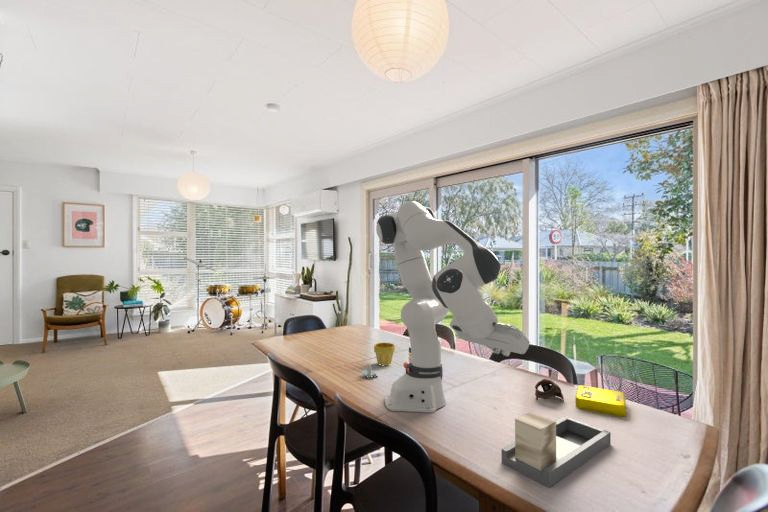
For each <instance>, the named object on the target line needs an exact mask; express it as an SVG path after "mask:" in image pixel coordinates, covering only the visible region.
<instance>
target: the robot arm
mask: <svg viewBox="0 0 768 512" xmlns="http://www.w3.org/2000/svg"><path fill="white" fill-rule="evenodd" d="M375 229H376V234H377V235H376V236H377V237H378V239H379V240H380V242H381V243H383V244H385V245H393V254H394V258H395V263H396V266H397V269H398V274H399V277H400V280H401V281H400V282H401V284H402V286H403V287H404V289H406V290H407V292H408V293H409V294H410V296H411V298H412V299H410V300H409V301H408V302H406V303H405V304H404V305H403V306H402V308H401V310H400V319H401V322H402V323H403V326H405V327H406V329H407V333H408V337H409V340H410V362H409V363H408V362H407V361H405V362H403V364H402V365H403V367H404V369H405V373H404V374H403V375H401V376H400V377H399V378H398V379H396V380H395V381H394V382H392V385H391V388H390V392H389V393H387V394H386V395H385V396H384V405H385V407H386V408H387V410H390V411H392V412H410V413H411V412H413V413H434V412H436V411H437V410H438V409H441V408H442V407H444V406H445V405H446V398H445V395H444V389H443V381H442V380H443V371H444V370H443V364H442V344H441V341H440V340H439V337H438V334H437V331H436V324H438V323H440V322H442V321H443V320H444V319H445V317H446V316H447V315H448V312H450V313H451V314H452V315H453V317H452V319H451V320H450V323H449V327H450V328H451V329H452V330H453V331H454V332H455V333H456V335H457V336H458V337H459V338H460V339H462V340H464V341H466V342H468V343H472V344H473V343H474V344H478V345H481V346H484V347H486V348H488V349H489V350H491V352H492V353H494V354H497V355H499V354H502V356H505V357H509V356H510V354H511V353H516V354H520V355H524V354H526V352H527V351H528V349H529V348H530V347H529V346H530V344H531V342H530V340H529V339H528V338H527V336H526V335H525V334H524V333H523V332H522V331H521V330H520V328H519V327H516V326H515V325H513V324H509V323H503V322H499V319H498V316H497V314H496V313H495V311H494V310H493V308H492V307H491V305H490V304H489V303H488V302H487V301H486V300H485V299H484V298H483V295H482V292H481V291H480V290H479V289H481V288H482V287H484V286H485V285H488V284H490V283H492V282H493V281H495V280H497V279H498V277H499V275H500V271H501V266H502V265H501V263H500V261H499V259H498V257H497V256H496V255H495V253H494V252H492V251H491V250H490V249H488V248H487V247H485V246H484V245H482V244H480V243H479V242H478V241H477V240H475V239H474V238H473V237H471V236H470V235H469V234H468V233H467V232H465V231H464V230H463V229H462V228H460V227H459V226H458V225H456V224H455V223H453V222H452V221H450V220H448V219H436V216H435V213H434V211H433V210H432V209H431V207H429V206H423V205H422V204H421V203H419V202H418V201H415V200H414V201H413V200H409V201H406V202H404V203H403V204H402V205H400V206H399V208H398V210H397V211H396V212H393V213H390V214H384V215H383V216H381V217H379V218H378V220H377V221H376V227H375ZM452 244H453V245H456V246H458V248H460V250H461V251H463V252H464V254H463V255H461V256H460V257H458V258H457V259H455V260H454V261H453V262H451V263H450V264H448V265H446V266H444V267H443V268H442V269H441V270H439V271H437V272H436V273H435V274H433V277H432V275H431V273H430V272H431V271H430V270H429V266H428V263H427V260H426V256H425V254H424V251H431V250H434V249H436V248H440V247H442V246H447V245H452Z"/></svg>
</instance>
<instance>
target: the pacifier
mask: <svg viewBox="0 0 768 512" xmlns="http://www.w3.org/2000/svg"><path fill="white" fill-rule="evenodd" d="M365 366H366V367H365V368H366V369H363V370H362V371H361V373H362V375H363V376H364V377H366V376H368V377H371V376H375V375H376V374H377V375H378V373H376V372H373V371H372V369H373V367H372V365H371V364H370V363H366V365H365ZM368 377H367V378H368Z"/></svg>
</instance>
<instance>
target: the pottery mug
mask: <svg viewBox="0 0 768 512" xmlns="http://www.w3.org/2000/svg"><path fill="white" fill-rule="evenodd" d="M539 387H541V388H542V390H543V391H541V390H539ZM534 389H535V390H534V391H535V392H534V395H535V399H536V400H538V399H543V400H546V399H551V398H553V399H556V397H557V398H558V397H559V398H560V399H561V401H562V402H564V401H565V398H564V395H563V393H562V389H561V387H560V386H559V385H558V384H557V383H555V382H554V381H553V380H552V379H547V378H543V379H541V380H539V381H538V382H537V383H535V385H534Z"/></svg>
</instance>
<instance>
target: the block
mask: <svg viewBox="0 0 768 512" xmlns="http://www.w3.org/2000/svg"><path fill="white" fill-rule="evenodd" d="M514 436H515V437H514V442H515V458H516V459H518V460H520V461H522V462H524V463H526V464H528V465H530V466H532V467H534V468H536V469H538V470H540V471H542V470H543V469H545V468H546V467H548V466H550V465H551V464H553V463H554V462H556V420H553V419H550V418H547V417H545V416H543V415H540V414H537V413H534V412H532V411H530V412H526V413H525V414H523V415H521V416H518V417H515V418H514Z"/></svg>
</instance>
